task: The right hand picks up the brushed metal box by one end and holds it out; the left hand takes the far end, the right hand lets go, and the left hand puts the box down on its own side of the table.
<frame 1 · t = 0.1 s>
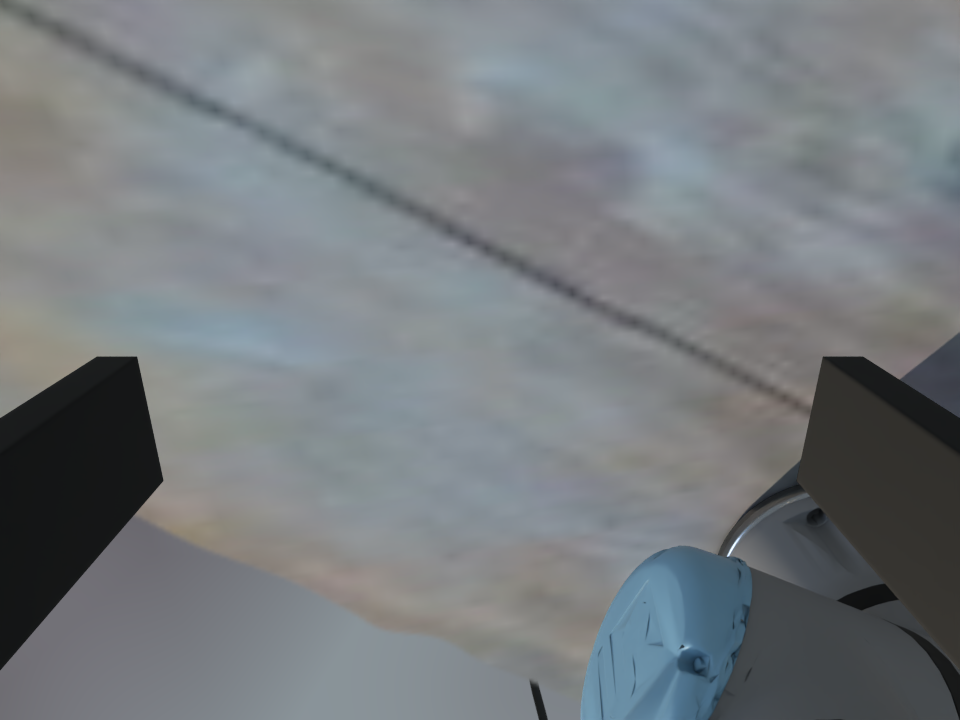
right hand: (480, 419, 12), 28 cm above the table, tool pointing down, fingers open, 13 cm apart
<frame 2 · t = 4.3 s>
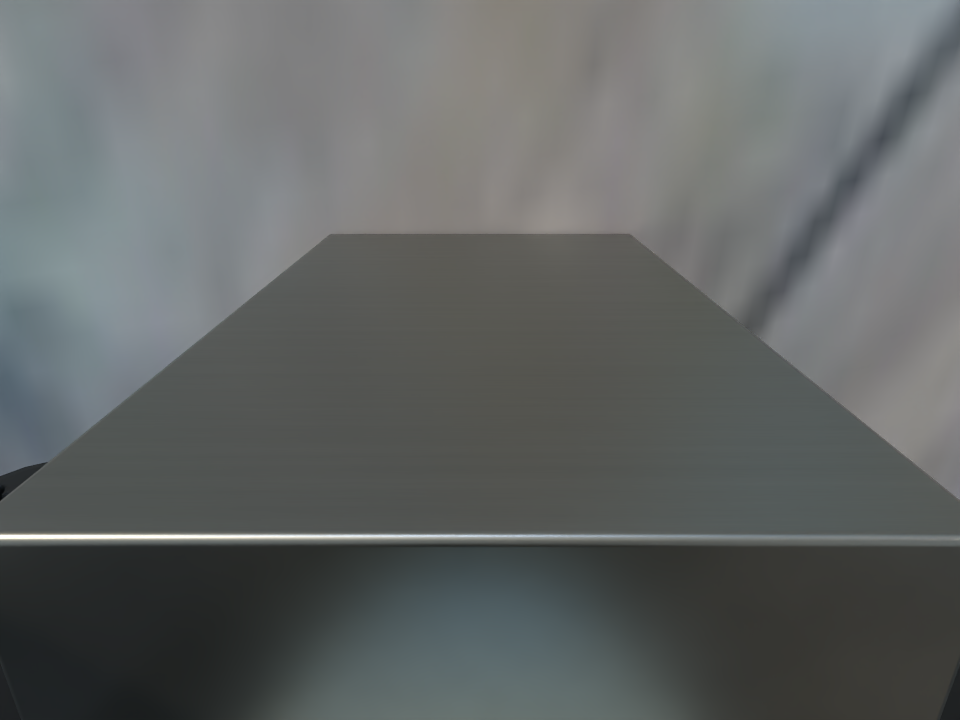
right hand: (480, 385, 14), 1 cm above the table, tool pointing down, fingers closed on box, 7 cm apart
box: (480, 597, 18), on the table, touching right hand
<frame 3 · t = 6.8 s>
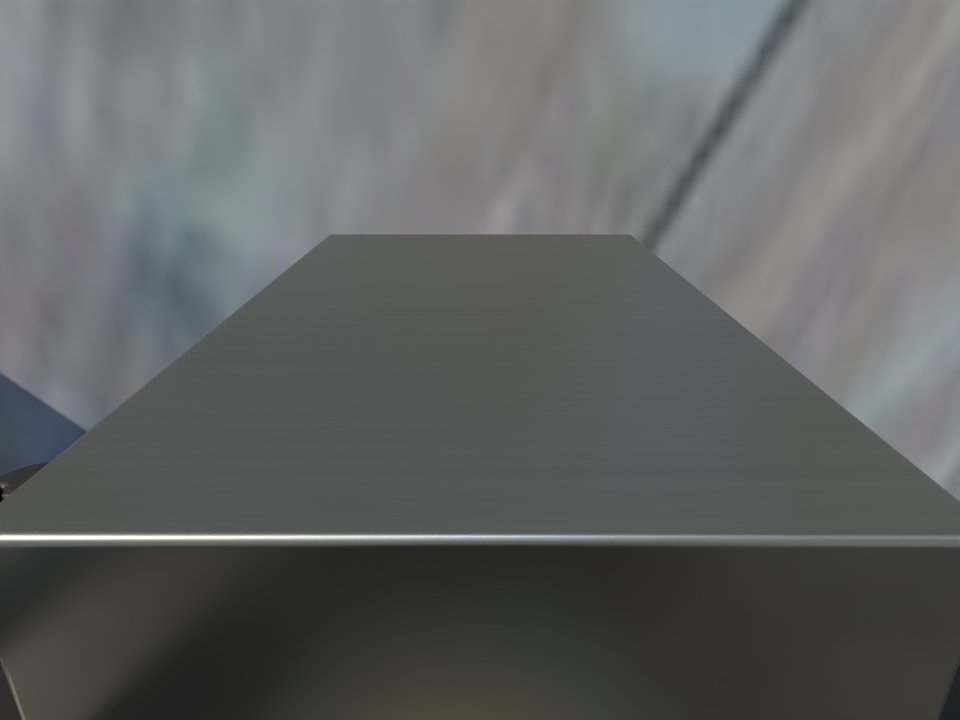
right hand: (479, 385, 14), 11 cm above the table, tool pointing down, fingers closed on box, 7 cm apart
box: (480, 597, 18), point 9 cm above the table, touching right hand
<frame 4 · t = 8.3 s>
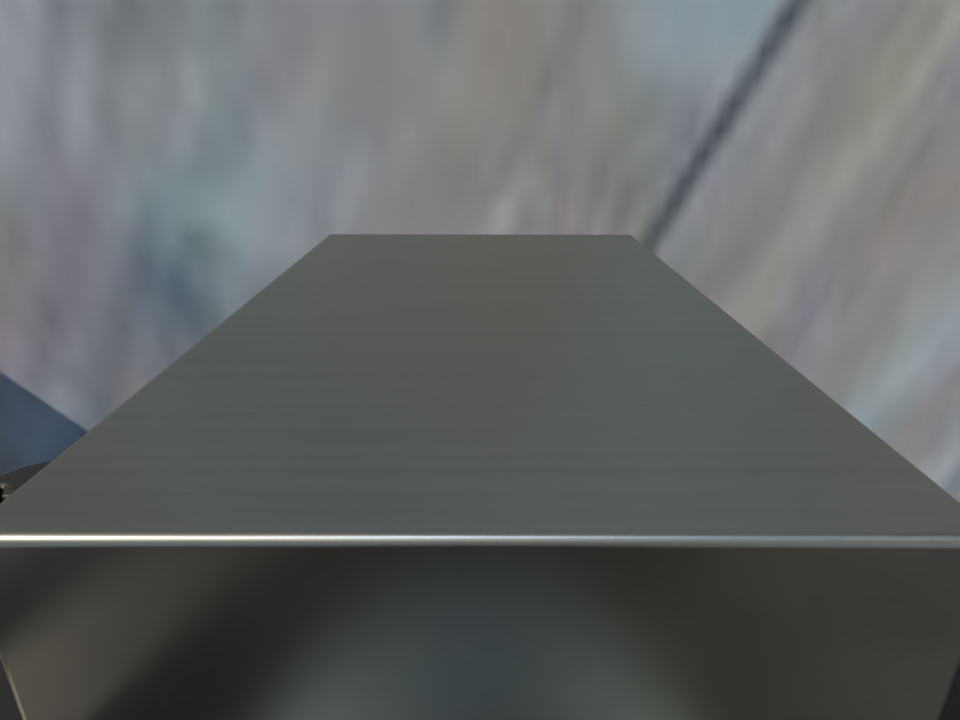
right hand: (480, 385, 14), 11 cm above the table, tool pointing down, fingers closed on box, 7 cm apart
box: (479, 597, 18), point 9 cm above the table, touching right hand, left hand
when the right hand's fingers open (11 cm above the table, at t = 9.2 s): box stays where it is, held by the left hand.
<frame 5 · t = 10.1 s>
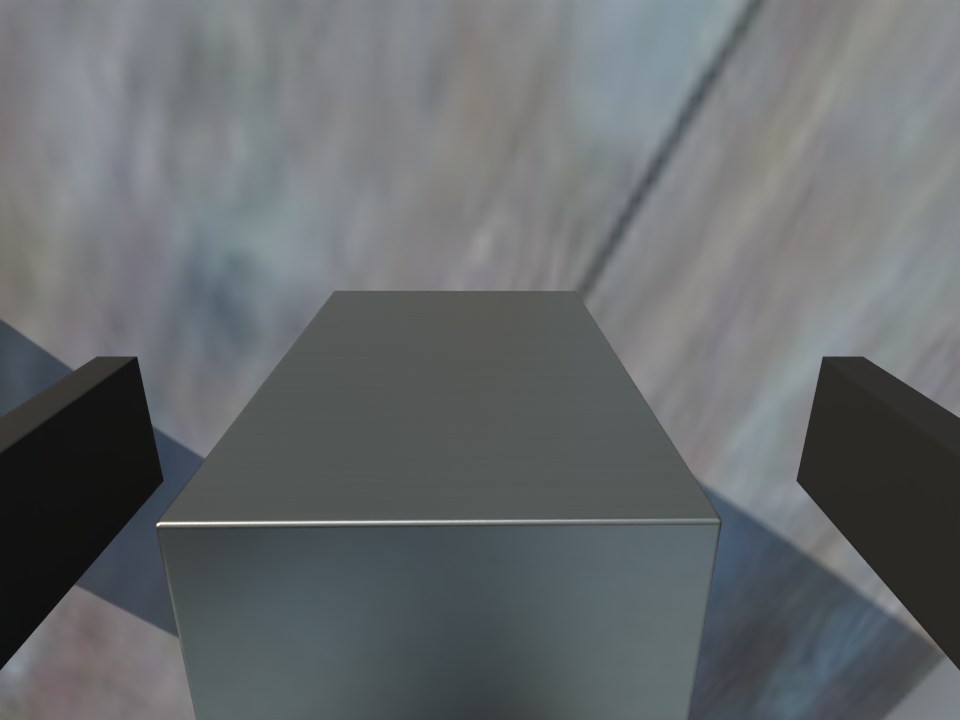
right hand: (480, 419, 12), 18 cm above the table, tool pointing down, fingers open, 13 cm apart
box: (457, 586, 21), point 12 cm above the table, touching left hand
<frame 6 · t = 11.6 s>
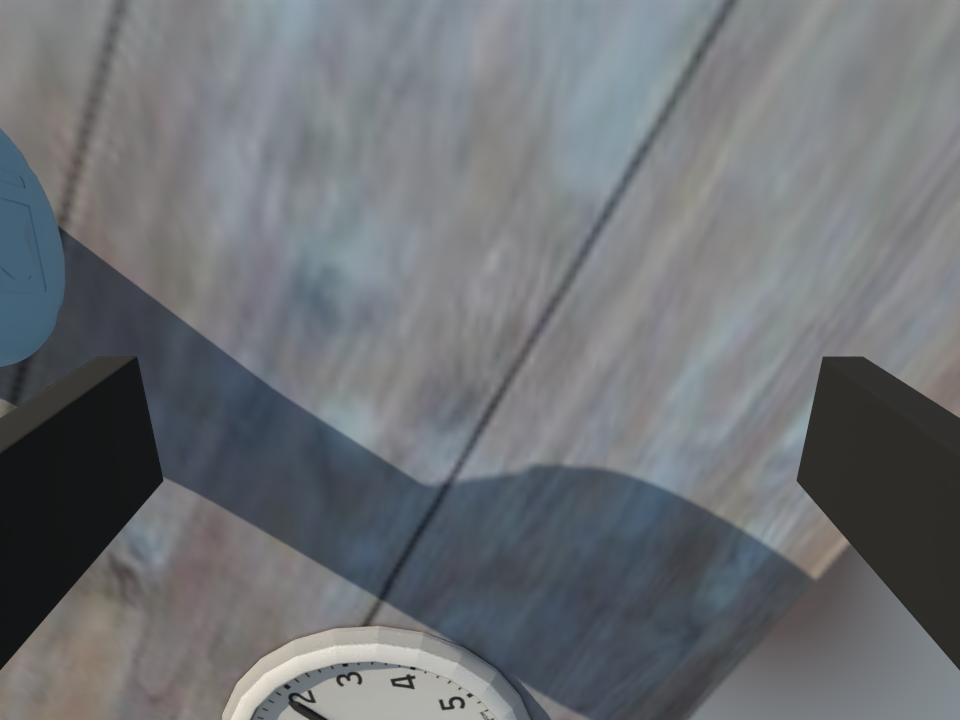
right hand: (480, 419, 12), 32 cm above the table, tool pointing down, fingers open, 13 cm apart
when the left hand's fingers open (3 cm above the table, at t = 15.0 s): box drops 1 cm, on the table.
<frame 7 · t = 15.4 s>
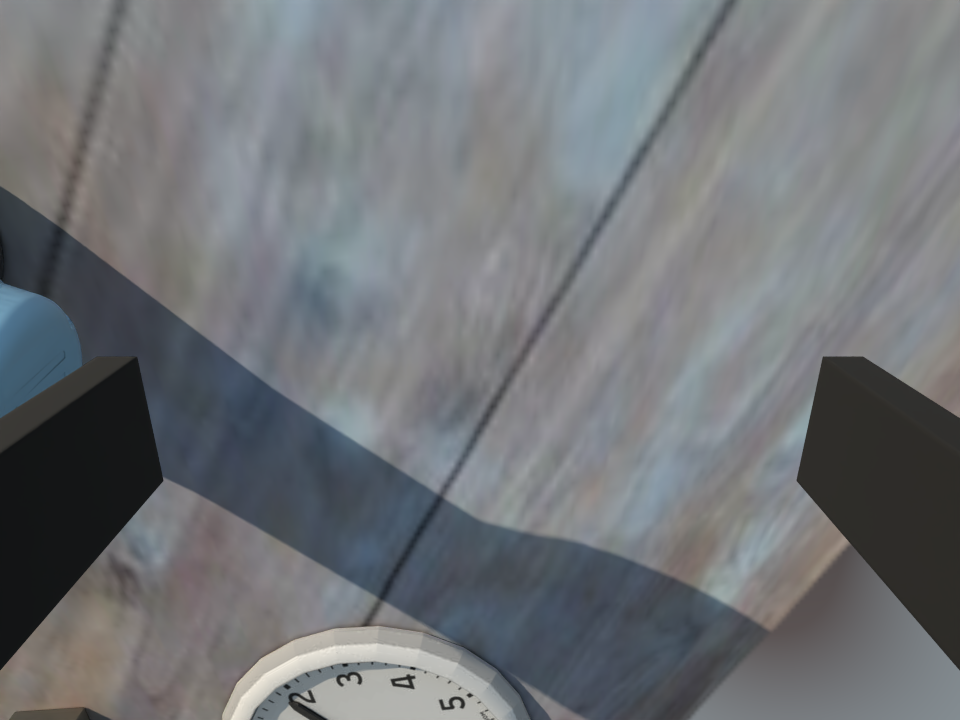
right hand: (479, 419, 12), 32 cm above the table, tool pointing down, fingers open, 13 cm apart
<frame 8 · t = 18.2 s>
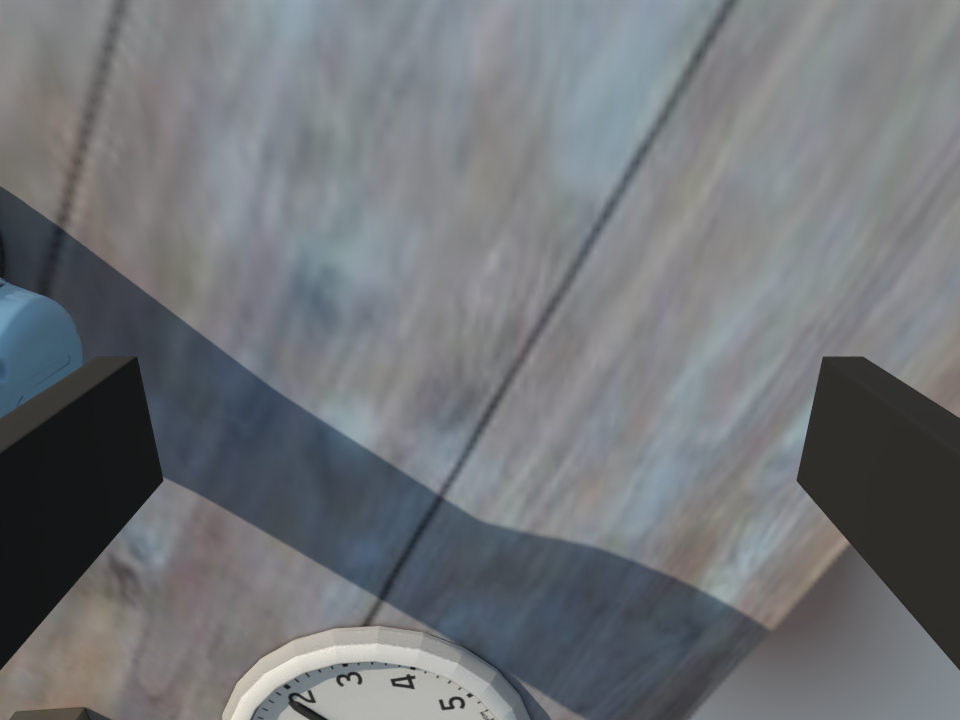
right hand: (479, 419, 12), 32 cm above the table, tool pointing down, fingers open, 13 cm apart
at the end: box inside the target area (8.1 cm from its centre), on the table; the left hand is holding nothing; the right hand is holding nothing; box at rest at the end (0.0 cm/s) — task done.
